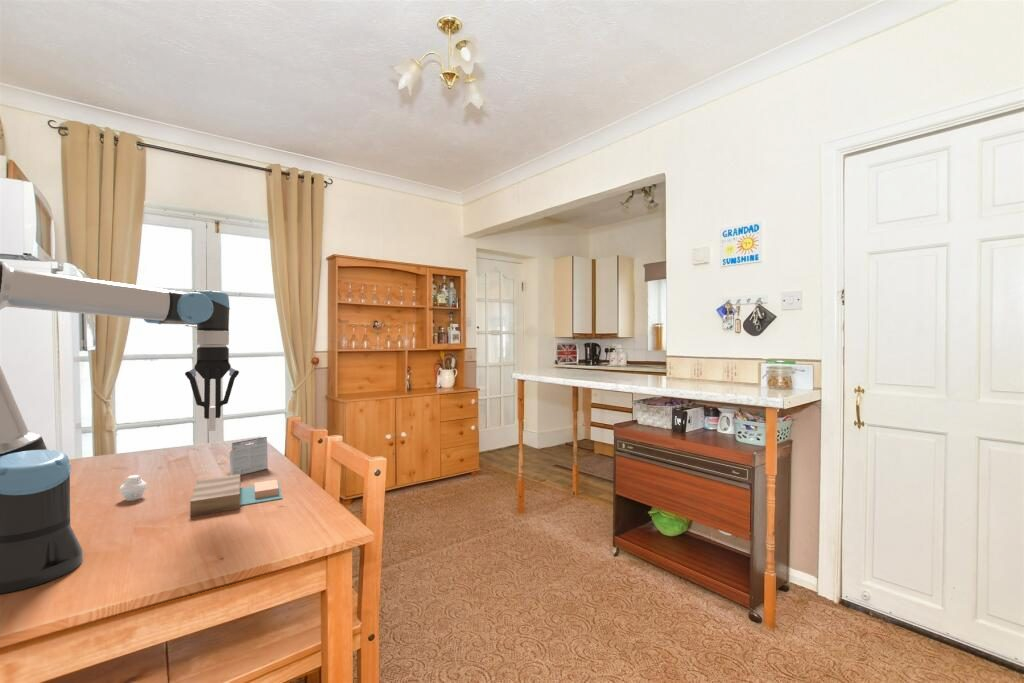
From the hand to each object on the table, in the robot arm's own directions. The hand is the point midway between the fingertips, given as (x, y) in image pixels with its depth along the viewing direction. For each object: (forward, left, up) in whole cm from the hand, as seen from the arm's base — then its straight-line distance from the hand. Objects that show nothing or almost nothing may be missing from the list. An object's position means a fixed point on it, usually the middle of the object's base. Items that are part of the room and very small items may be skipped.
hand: (212, 429), depth 127 cm
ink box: (+27, -9, -21) cm, 35 cm away
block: (+1, -13, -18) cm, 23 cm away
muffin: (+15, +20, -21) cm, 32 cm away
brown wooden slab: (+1, -1, -21) cm, 21 cm away
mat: (+1, -11, -21) cm, 24 cm away
